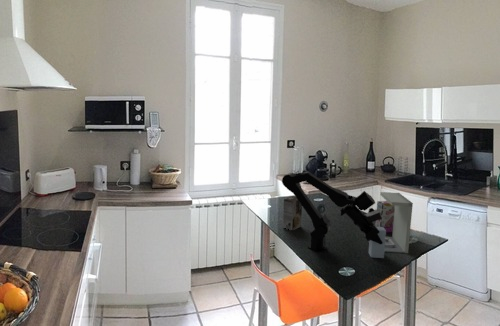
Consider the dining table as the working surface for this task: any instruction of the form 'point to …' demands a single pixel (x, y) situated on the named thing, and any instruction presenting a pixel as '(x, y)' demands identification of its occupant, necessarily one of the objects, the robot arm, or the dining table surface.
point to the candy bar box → (385, 215)
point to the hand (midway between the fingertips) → (380, 241)
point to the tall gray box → (378, 245)
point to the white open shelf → (399, 223)
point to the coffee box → (292, 213)
